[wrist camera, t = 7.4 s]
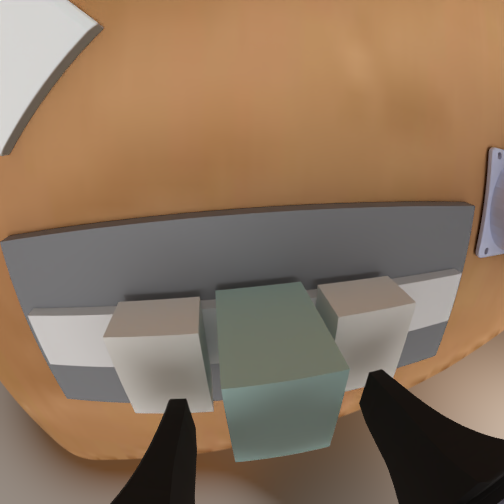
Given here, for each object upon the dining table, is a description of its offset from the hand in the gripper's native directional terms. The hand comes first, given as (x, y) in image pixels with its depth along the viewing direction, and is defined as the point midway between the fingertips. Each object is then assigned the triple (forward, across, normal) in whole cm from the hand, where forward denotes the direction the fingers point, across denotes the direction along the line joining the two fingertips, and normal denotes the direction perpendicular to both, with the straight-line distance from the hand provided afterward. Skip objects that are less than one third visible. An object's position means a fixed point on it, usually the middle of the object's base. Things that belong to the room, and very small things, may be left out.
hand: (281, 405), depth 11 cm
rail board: (+7, 0, 0) cm, 7 cm away
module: (+5, 0, 0) cm, 5 cm away
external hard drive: (+7, +14, -18) cm, 24 cm away
